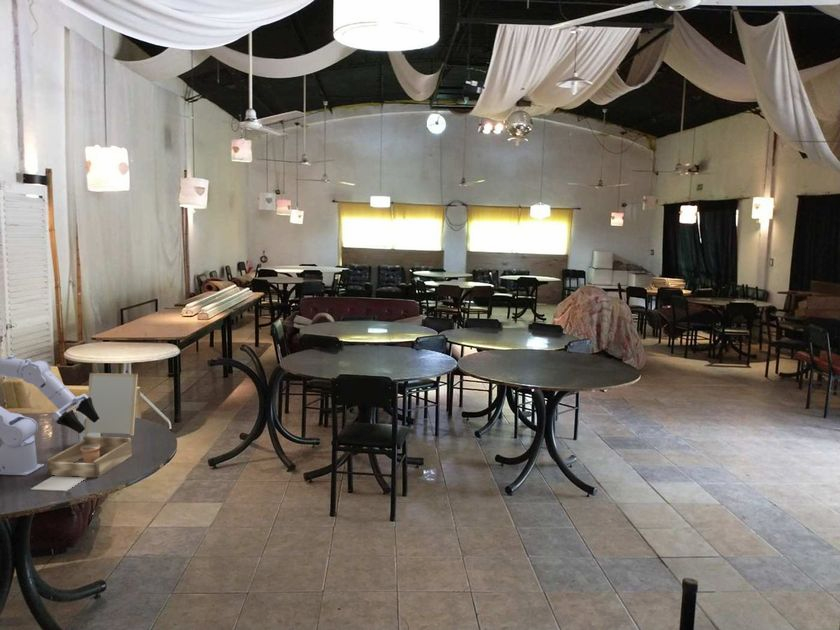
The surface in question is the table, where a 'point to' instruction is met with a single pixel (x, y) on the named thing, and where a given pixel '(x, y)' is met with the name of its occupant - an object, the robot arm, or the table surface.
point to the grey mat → (58, 483)
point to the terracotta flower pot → (90, 453)
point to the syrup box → (82, 420)
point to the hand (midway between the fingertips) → (90, 425)
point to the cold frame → (112, 453)
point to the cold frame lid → (112, 402)
